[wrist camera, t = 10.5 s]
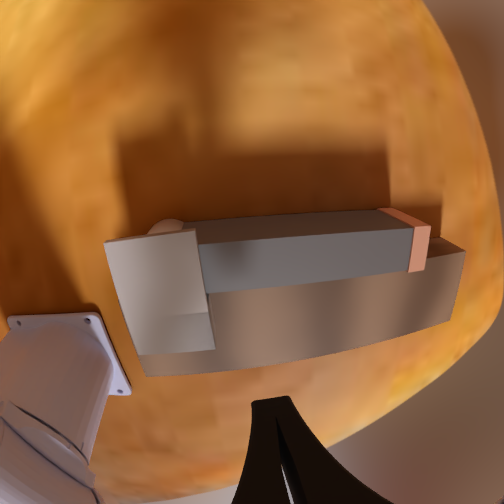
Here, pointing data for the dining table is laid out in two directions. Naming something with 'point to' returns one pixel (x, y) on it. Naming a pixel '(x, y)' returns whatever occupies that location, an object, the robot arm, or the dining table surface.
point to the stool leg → (304, 247)
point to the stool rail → (265, 308)
